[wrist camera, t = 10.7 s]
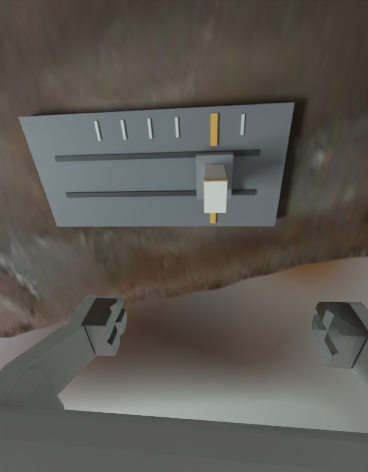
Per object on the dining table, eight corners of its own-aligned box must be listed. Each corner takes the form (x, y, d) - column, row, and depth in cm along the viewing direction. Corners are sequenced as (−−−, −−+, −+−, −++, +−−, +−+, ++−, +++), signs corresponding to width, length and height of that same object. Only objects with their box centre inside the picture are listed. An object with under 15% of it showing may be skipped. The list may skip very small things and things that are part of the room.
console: (29, 115, 29) (16, 117, 27) (288, 102, 26) (295, 102, 24) (64, 220, 36) (56, 227, 34) (271, 219, 33) (275, 227, 31)
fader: (196, 152, 27) (192, 170, 20) (232, 151, 26) (239, 169, 20) (197, 195, 29) (193, 222, 23) (230, 194, 29) (236, 222, 22)
